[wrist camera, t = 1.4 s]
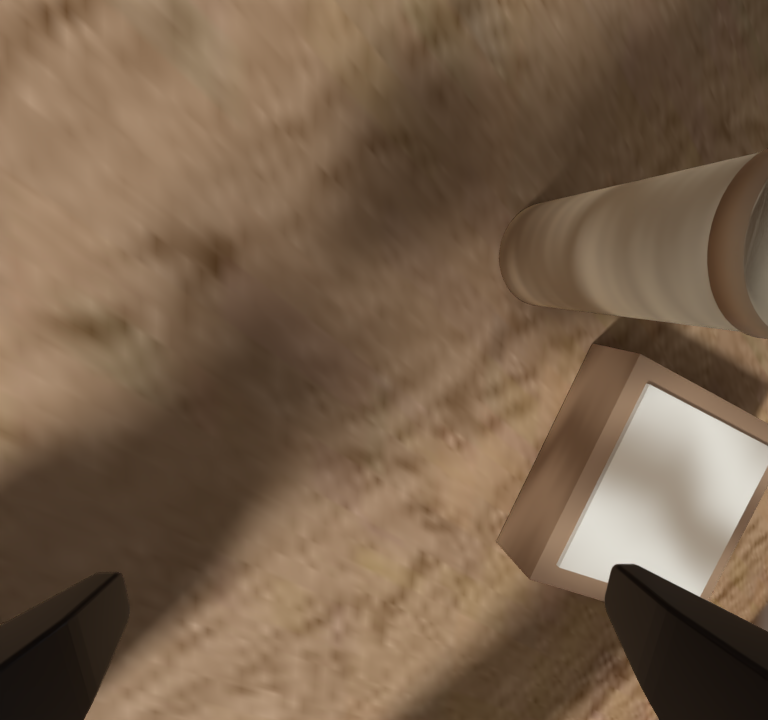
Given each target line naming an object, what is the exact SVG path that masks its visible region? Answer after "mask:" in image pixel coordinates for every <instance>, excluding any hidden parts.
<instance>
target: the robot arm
mask: <svg viewBox="0 0 768 720" xmlns="http://www.w3.org/2000/svg"><path fill="white" fill-rule="evenodd" d="M605 608H606V611H607V614H608V616H609V619H610V621H611V623H612V625H613V627H614V629H615V632H616V634H617V636H618V638H619V640H620V643H621V645H622V647H623V649H624V651H625V654H626V656H627V658H628V660H629V662H630V664H631V667H632V669H633V671H634V673H635V675H636V678H637V680H638V682H639V684H640V686H641V688H642V690H643V692H644V693H645V695H646V697H647V699H648V701H649V702H650V704H651V706H652V708H653V709H654V711H655V713H656V715H657V716H658V718H659V720H768V632H767V631H766V630H763V629H762V628H760V627H758V626H756V625H754V624H752V623H750V622H748V621H746V620H744V619H742V618H740V617H738V616H736V615H734V614H732V613H730V612H728V611H726V610H725V609H723V608H721V607H719V606H717V605H715V604H713V603H711V602H709V601H707V600H705V599H703V598H701V597H699V596H697V595H695V594H693V593H691V592H689V591H687V590H685V589H683V588H682V587H680V586H678V585H676V584H674V583H672V582H670V581H668V580H666V579H664V578H662V577H660V576H658V575H656V574H654V573H652V572H650V571H648V570H646V569H644V568H642V567H640V566H639V565H636V564H616V565H614V566H613V567H612V569H611V572H610V576H609V580H608V585H607V589H606V593H605ZM129 614H130V604H129V599H128V595H127V590H126V586H125V581H124V578H123V575H122V574H121V573H119V572H99V573H96V574H94V575H92V576H90V577H88V578H86V579H85V580H83V581H81V582H79V583H77V584H75V585H74V586H72V587H70V588H68V589H66V590H64V591H63V592H61V593H59V594H57V595H55V596H53V597H52V598H50V599H48V600H46V601H44V602H42V603H41V604H39V605H37V606H35V607H33V608H32V609H30V610H28V611H26V612H24V613H22V614H21V615H19V616H17V617H15V618H13V619H11V620H10V621H8V622H6V623H4V624H2V625H0V720H84V718H85V716H86V714H87V713H88V711H89V709H90V707H91V705H92V703H93V701H94V698H95V696H96V694H97V692H98V690H99V687H100V685H101V683H102V680H103V678H104V676H105V674H106V671H107V669H108V667H109V664H110V662H111V660H112V657H113V655H114V653H115V650H116V648H117V646H118V644H119V641H120V639H121V637H122V634H123V632H124V630H125V627H126V625H127V622H128V619H129Z"/></svg>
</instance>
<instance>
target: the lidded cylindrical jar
mask: <svg viewBox="0 0 768 720" xmlns="http://www.w3.org/2000/svg"><path fill="white" fill-rule="evenodd" d="M499 263H500V270H501V274H502V277H503V280H504V282H505V284H506V285H507V287H508V288H509V290H510V291H511V292H512V293H513V295H515V296H516V297H517V298H518V299H520V300H521V301H523V302H525V303H527V304H531V305H536V306H544V307H551V308H559V309H567V310H575V311H583V312H591V313H599V314H607V315H614V316H622V317H630V318H638V319H646V320H654V321H662V322H670V323H678V324H685V325H693V326H701V327H709V328H717V329H725V330H733V331H741V332H743V333H745V334H747V335H750V336H753V337H757V338H764V339H768V148H767V149H765V150H763V151H762V152H759V153H755V154H751V155H746V156H742V157H738V158H733V159H729V160H725V161H720V162H716V163H712V164H707V165H703V166H699V167H694V168H690V169H686V170H681V171H677V172H673V173H668V174H664V175H660V176H656V177H651V178H647V179H643V180H638V181H634V182H630V183H625V184H621V185H617V186H612V187H608V188H604V189H599V190H595V191H591V192H586V193H582V194H578V195H573V196H569V197H565V198H560V199H556V200H552V201H547V202H543V203H539V204H535V205H532V206H530V207H528V208H526V209H524V210H523V211H521V212H520V213H519V214H518V215H516V217H515V218H514V219H513V220H512V221H511V223H510V224H509V225H508V227H507V229H506V231H505V233H504V235H503V238H502V241H501V245H500V251H499Z"/></svg>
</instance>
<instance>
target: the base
mask: <svg viewBox="0 0 768 720" xmlns="http://www.w3.org/2000/svg"><path fill="white" fill-rule="evenodd" d="M767 486H768V423H766V422H764V421H762V420H760V419H759V418H757V417H755V416H753V415H751V414H749V413H748V412H746V411H744V410H742V409H740V408H738V407H737V406H735V405H733V404H731V403H729V402H728V401H726V400H724V399H722V398H720V397H718V396H717V395H715V394H713V393H711V392H709V391H707V390H706V389H704V388H702V387H700V386H698V385H696V384H695V383H693V382H691V381H689V380H687V379H685V378H684V377H682V376H680V375H678V374H676V373H674V372H673V371H671V370H669V369H667V368H665V367H663V366H662V365H660V364H658V363H656V362H654V361H653V360H651V359H649V358H647V357H645V356H643V355H642V354H639V353H634V352H630V351H625V350H620V349H616V348H611V347H607V346H602V345H597V344H592V346H591V348H590V350H589V352H588V354H587V356H586V358H585V360H584V362H583V364H582V366H581V368H580V370H579V372H578V375H577V377H576V379H575V381H574V383H573V385H572V387H571V389H570V391H569V393H568V395H567V397H566V399H565V401H564V403H563V405H562V408H561V410H560V412H559V414H558V416H557V418H556V420H555V422H554V424H553V426H552V428H551V430H550V432H549V434H548V436H547V438H546V440H545V443H544V445H543V447H542V449H541V451H540V453H539V455H538V457H537V459H536V461H535V463H534V465H533V467H532V469H531V471H530V473H529V476H528V478H527V480H526V482H525V484H524V486H523V488H522V490H521V492H520V494H519V496H518V498H517V500H516V502H515V504H514V506H513V509H512V511H511V513H510V515H509V517H508V519H507V521H506V523H505V525H504V527H503V529H502V531H501V533H500V535H499V537H498V539H497V541H496V542H497V543H498V545H499V546H500V547H501V548H502V549H503V550H504V551H505V552H506V554H507V555H508V556H509V557H510V558H511V559H512V560H513V561H514V563H515V564H516V565H517V566H518V567H519V568H520V569H521V570H522V572H523V573H524V574H525V575H526V576H527V577H528V578H529V579H530V580H534V581H537V582H540V583H544V584H547V585H550V586H554V587H557V588H560V589H564V590H567V591H571V592H574V593H577V594H581V595H584V596H587V597H591V598H594V599H597V600H601V601H604V602H605V593H606V589H607V585H608V580H609V576H610V572H611V569H612V567H613V566H614V565H616V564H636V565H639V566H640V567H642V568H644V569H646V570H648V571H650V572H652V573H654V574H656V575H658V576H660V577H662V578H664V579H666V580H668V581H670V582H672V583H674V584H676V585H678V586H680V587H682V588H683V589H685V590H687V591H689V592H691V593H693V594H695V595H697V596H699V597H701V598H703V599H705V600H707V601H708V600H709V598H710V596H711V594H712V592H713V590H714V588H715V586H716V584H717V583H718V581H719V579H720V577H721V575H722V573H723V571H724V569H725V567H726V565H727V563H728V561H729V559H730V558H731V556H732V554H733V552H734V550H735V548H736V546H737V544H738V542H739V540H740V538H741V536H742V534H743V532H744V531H745V529H746V527H747V525H748V523H749V521H750V519H751V517H752V515H753V513H754V511H755V509H756V507H757V506H758V504H759V502H760V500H761V498H762V496H763V494H764V492H765V490H766V488H767Z"/></svg>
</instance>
